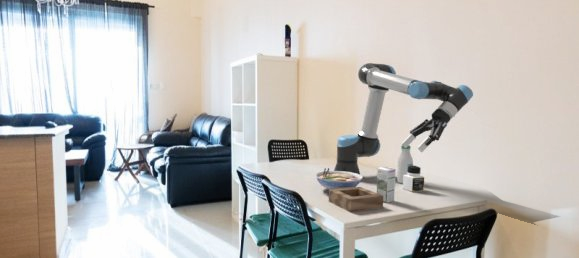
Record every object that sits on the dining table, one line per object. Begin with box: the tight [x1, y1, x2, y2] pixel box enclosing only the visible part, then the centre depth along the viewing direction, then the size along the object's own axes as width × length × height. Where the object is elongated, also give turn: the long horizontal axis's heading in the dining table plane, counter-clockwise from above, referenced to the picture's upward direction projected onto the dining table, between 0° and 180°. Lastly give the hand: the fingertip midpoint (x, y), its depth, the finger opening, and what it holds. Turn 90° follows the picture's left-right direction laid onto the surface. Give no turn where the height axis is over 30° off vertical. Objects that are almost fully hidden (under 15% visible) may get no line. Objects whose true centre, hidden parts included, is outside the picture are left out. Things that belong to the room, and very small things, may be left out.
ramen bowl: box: [314, 167, 364, 191], centre depth 172 cm, size 25×23×8 cm
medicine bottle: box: [402, 164, 425, 193], centre depth 177 cm, size 7×7×12 cm
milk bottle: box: [396, 144, 414, 185], centre depth 192 cm, size 8×8×20 cm
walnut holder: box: [328, 186, 384, 213], centre depth 150 cm, size 16×16×5 cm
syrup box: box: [376, 166, 396, 204], centre depth 156 cm, size 6×6×14 cm
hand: (411, 148), depth 157 cm, fingers open, 13 cm apart
